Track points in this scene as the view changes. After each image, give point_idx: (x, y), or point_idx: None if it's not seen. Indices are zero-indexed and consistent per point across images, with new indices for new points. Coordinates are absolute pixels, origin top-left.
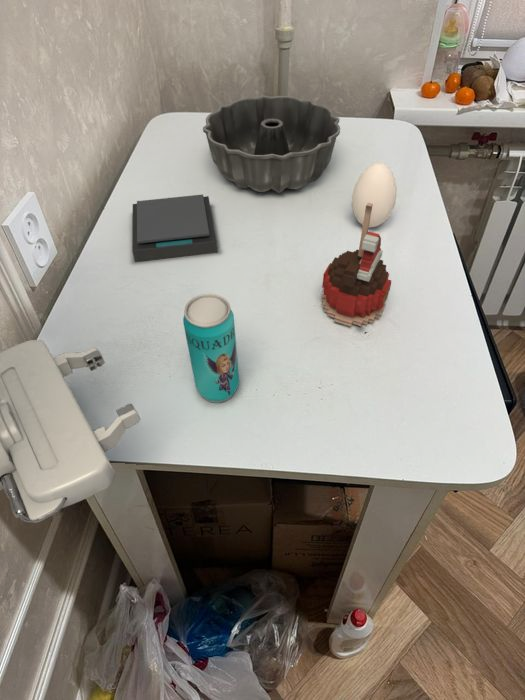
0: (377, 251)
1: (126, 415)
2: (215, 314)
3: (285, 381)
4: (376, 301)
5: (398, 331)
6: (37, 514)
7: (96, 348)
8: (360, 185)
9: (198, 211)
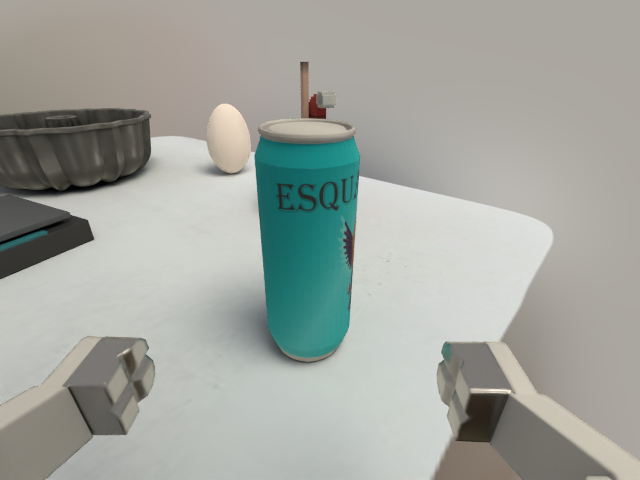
0: None
1: (512, 369)
2: (330, 125)
3: (356, 277)
4: None
5: (360, 203)
6: None
7: (93, 337)
8: (217, 126)
9: (21, 205)
